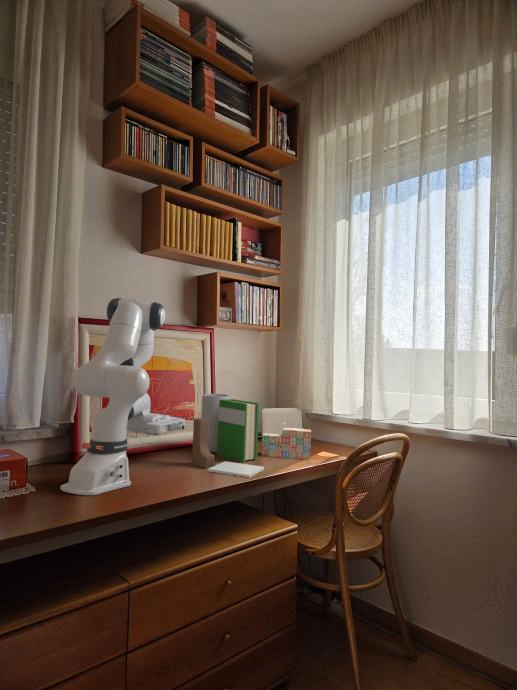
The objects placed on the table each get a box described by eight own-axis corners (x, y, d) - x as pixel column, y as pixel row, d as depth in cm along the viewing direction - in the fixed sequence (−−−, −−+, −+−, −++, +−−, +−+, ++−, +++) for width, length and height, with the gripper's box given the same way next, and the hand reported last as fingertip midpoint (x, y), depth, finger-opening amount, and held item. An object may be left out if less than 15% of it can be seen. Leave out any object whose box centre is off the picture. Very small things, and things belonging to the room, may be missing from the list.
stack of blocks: (260, 456, 201) (261, 428, 201) (262, 453, 207) (263, 426, 207) (309, 459, 198) (310, 431, 198) (310, 456, 204) (311, 428, 204)
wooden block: (214, 467, 178) (216, 420, 179) (205, 468, 175) (207, 421, 176) (200, 462, 185) (202, 417, 185) (191, 464, 182) (193, 418, 182)
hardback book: (256, 460, 192) (258, 403, 193) (243, 462, 187) (245, 403, 188) (230, 452, 206) (232, 399, 206) (217, 454, 201) (219, 399, 201)
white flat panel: (249, 477, 165) (249, 474, 165) (207, 471, 171) (207, 468, 171) (264, 469, 177) (264, 466, 177) (224, 463, 184) (224, 461, 184)
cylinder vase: (226, 452, 205) (228, 396, 205) (198, 451, 205) (200, 395, 205) (228, 447, 217) (230, 394, 218) (201, 446, 217) (203, 393, 218)
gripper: (138, 419, 180) (168, 422, 175) (168, 414, 199) (196, 416, 193) (138, 435, 180) (168, 439, 174) (168, 428, 199) (195, 431, 193)
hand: (183, 427), depth 184 cm, fingers closed
